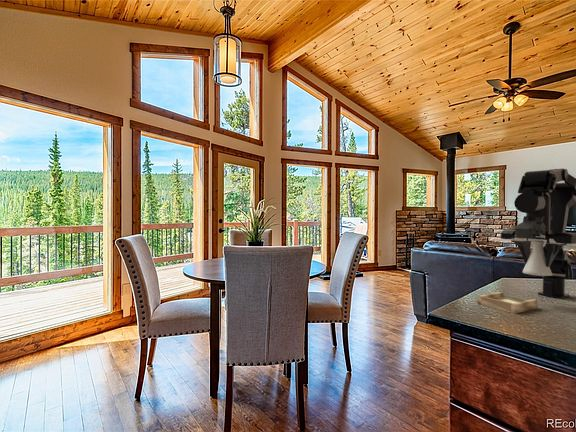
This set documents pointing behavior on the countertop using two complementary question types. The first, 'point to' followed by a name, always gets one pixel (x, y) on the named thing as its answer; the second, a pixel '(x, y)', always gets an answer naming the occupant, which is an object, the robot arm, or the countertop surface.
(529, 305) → the tray
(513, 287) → the countertop surface
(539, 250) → the flask
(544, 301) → the countertop surface
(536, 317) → the countertop surface
